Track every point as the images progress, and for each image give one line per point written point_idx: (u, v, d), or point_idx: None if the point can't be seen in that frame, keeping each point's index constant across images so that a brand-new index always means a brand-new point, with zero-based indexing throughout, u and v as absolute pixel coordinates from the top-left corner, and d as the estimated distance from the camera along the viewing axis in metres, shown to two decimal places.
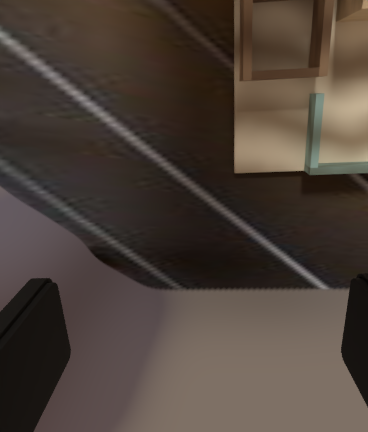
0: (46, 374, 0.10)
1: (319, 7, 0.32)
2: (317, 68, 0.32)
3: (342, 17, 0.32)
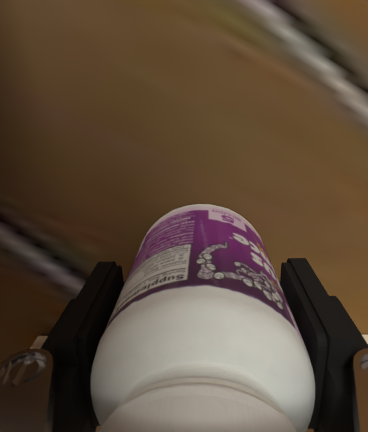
0: None
1: None
2: None
3: None
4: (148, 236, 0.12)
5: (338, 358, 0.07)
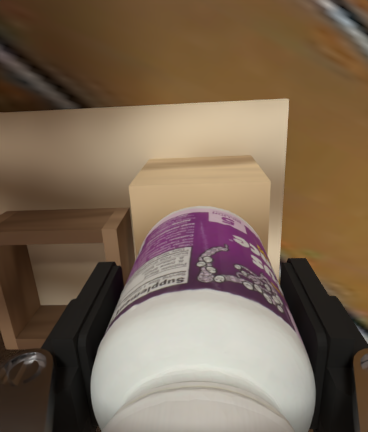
0: None
1: None
2: None
3: None
4: (148, 238, 0.12)
5: (338, 358, 0.07)
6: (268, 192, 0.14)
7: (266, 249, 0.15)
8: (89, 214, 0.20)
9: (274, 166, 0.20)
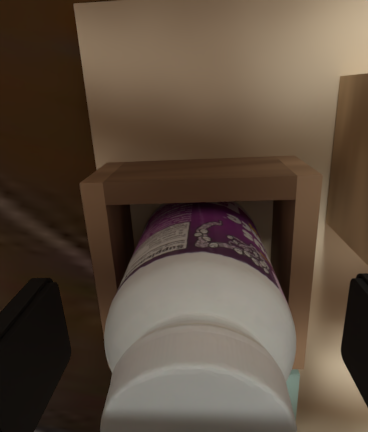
0: (47, 374, 0.10)
1: (283, 215, 0.13)
2: None
3: (341, 235, 0.13)
4: (151, 219, 0.14)
5: None
6: None
7: None
8: (245, 163, 0.13)
9: None
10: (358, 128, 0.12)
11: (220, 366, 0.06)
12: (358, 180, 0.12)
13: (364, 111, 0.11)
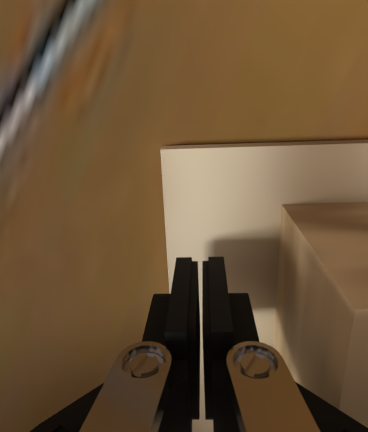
0: (199, 343, 0.10)
1: None
2: None
3: None
4: None
5: (221, 351, 0.08)
6: None
7: None
8: None
9: (271, 164, 0.11)
10: None
11: None
12: None
13: None
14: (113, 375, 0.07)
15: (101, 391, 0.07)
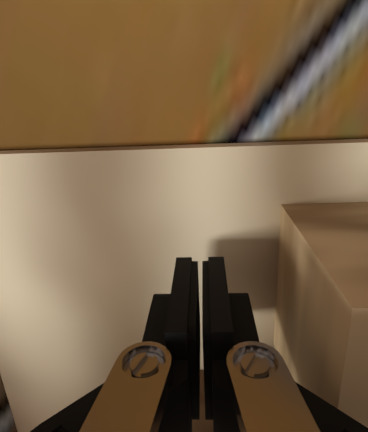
0: (199, 343, 0.10)
1: None
2: None
3: None
4: None
5: (220, 351, 0.08)
6: None
7: None
8: None
9: (41, 170, 0.12)
10: None
11: None
12: None
13: None
14: (113, 375, 0.07)
15: (101, 391, 0.07)
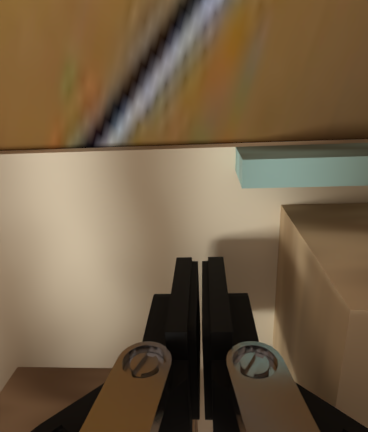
0: (199, 343, 0.10)
1: None
2: None
3: None
4: None
5: (220, 351, 0.08)
6: None
7: None
8: None
9: None
10: None
11: None
12: None
13: None
14: (113, 375, 0.07)
15: (101, 391, 0.07)
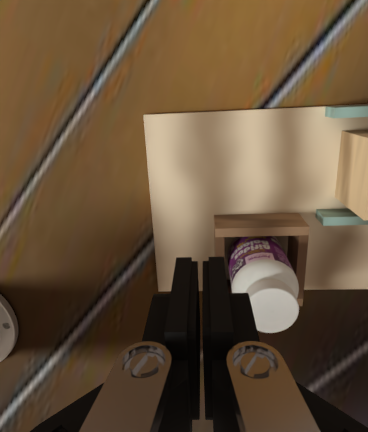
0: None
1: None
2: (300, 237, 0.29)
3: None
4: None
5: (221, 351, 0.08)
6: None
7: None
8: (214, 240, 0.32)
9: (185, 120, 0.29)
10: None
11: None
12: None
13: None
14: (113, 375, 0.07)
15: (101, 391, 0.07)
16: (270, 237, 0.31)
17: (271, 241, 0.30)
